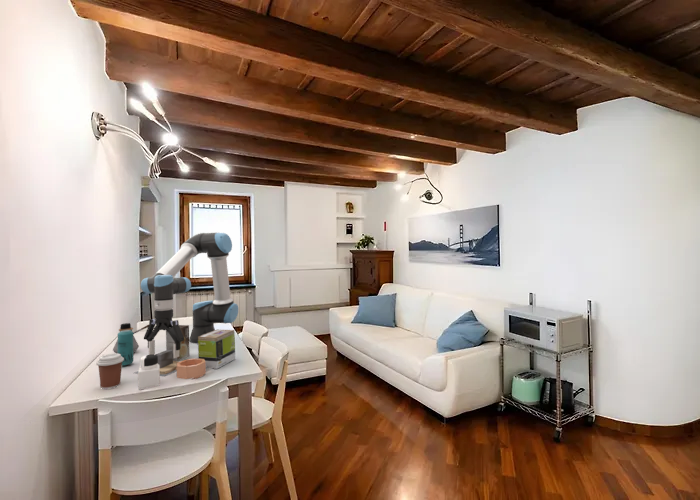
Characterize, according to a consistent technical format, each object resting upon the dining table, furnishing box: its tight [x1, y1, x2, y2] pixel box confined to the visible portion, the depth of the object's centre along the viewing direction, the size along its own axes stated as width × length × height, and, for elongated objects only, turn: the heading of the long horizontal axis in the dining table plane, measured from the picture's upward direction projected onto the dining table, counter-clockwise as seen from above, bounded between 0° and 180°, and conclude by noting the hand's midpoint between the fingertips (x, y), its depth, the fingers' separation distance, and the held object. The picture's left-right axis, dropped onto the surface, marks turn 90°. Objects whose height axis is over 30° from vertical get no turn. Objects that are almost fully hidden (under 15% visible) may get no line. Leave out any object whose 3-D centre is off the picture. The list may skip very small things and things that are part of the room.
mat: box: [133, 369, 177, 378], centre depth 156 cm, size 17×17×1 cm
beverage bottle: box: [117, 322, 134, 366], centre depth 161 cm, size 6×7×20 cm
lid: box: [154, 350, 180, 374], centre depth 156 cm, size 13×13×7 cm
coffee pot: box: [112, 324, 149, 354], centre depth 185 cm, size 21×12×15 cm, turn 130°
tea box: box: [197, 329, 236, 370], centre depth 164 cm, size 15×10×15 cm, turn 165°
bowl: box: [176, 357, 207, 380], centre depth 149 cm, size 11×11×6 cm
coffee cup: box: [95, 352, 124, 390], centre depth 138 cm, size 9×9×12 cm
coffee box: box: [165, 324, 190, 362], centre depth 171 cm, size 9×6×16 cm
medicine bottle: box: [137, 354, 161, 391], centre depth 137 cm, size 7×7×12 cm
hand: (163, 356), depth 156 cm, fingers open, 13 cm apart
